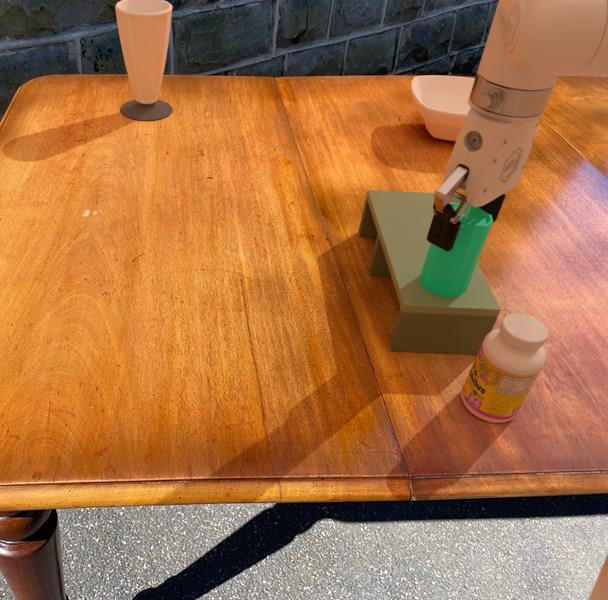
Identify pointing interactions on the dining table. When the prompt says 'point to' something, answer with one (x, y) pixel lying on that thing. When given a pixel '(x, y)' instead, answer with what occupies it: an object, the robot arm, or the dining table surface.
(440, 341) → the shelf
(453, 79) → the bowl
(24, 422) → the dining table surface
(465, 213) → the candle
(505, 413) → the supplement bottle
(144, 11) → the cup
